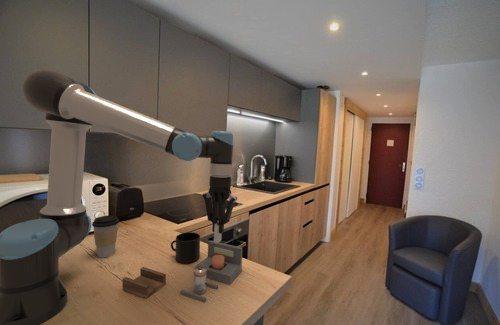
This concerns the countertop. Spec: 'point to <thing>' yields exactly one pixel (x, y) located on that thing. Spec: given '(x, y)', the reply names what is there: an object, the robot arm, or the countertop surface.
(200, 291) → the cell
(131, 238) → the countertop surface
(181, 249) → the mug
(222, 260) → the test button
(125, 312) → the countertop surface
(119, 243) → the countertop surface
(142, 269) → the trough
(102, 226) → the coffee cup
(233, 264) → the grey blocks and bars
